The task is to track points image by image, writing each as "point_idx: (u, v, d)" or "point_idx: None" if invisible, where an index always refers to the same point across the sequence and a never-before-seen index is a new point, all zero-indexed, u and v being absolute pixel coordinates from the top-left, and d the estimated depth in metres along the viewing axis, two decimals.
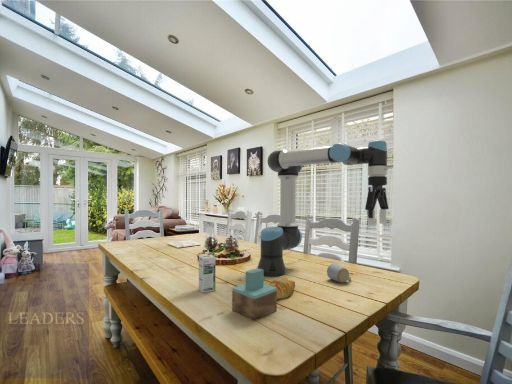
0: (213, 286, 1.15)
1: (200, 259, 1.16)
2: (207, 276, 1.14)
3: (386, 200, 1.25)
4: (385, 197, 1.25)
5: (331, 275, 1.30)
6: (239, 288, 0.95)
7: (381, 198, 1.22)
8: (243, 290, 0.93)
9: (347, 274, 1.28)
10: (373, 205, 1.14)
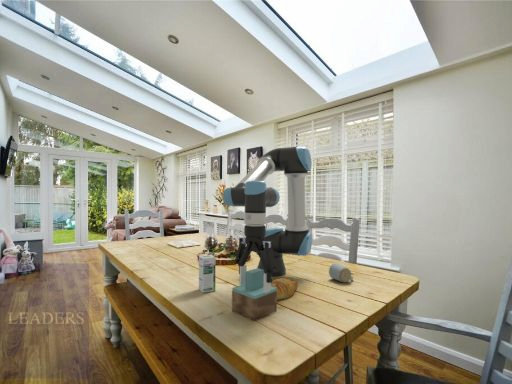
0: (213, 286, 1.15)
1: (200, 259, 1.16)
2: (207, 276, 1.14)
3: (268, 261, 0.90)
4: (266, 255, 0.91)
5: (333, 275, 1.30)
6: (239, 288, 0.95)
7: None
8: (243, 290, 0.93)
9: (349, 274, 1.28)
10: (239, 260, 1.00)
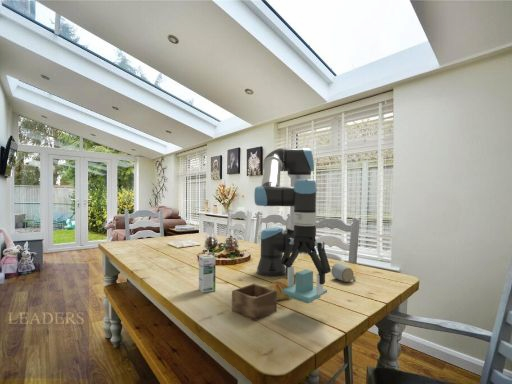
0: (213, 286, 1.15)
1: (200, 259, 1.16)
2: (207, 276, 1.14)
3: (322, 261, 0.88)
4: (319, 256, 0.89)
5: (335, 274, 1.31)
6: (289, 290, 0.93)
7: None
8: (294, 292, 0.91)
9: (351, 273, 1.29)
10: (287, 261, 0.97)
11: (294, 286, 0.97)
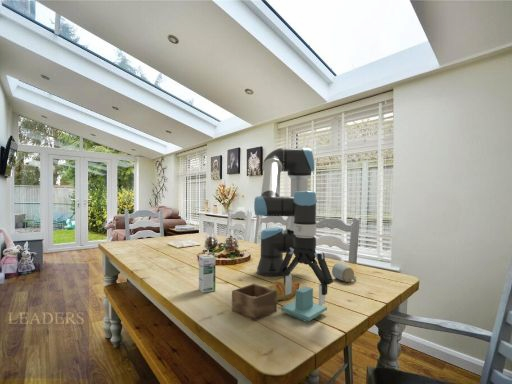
0: (213, 286, 1.15)
1: (200, 259, 1.16)
2: (207, 276, 1.14)
3: (323, 272, 0.87)
4: (320, 267, 0.88)
5: (336, 274, 1.31)
6: (289, 307, 0.93)
7: None
8: (294, 310, 0.91)
9: (352, 273, 1.29)
10: (285, 269, 0.98)
11: (294, 303, 0.97)
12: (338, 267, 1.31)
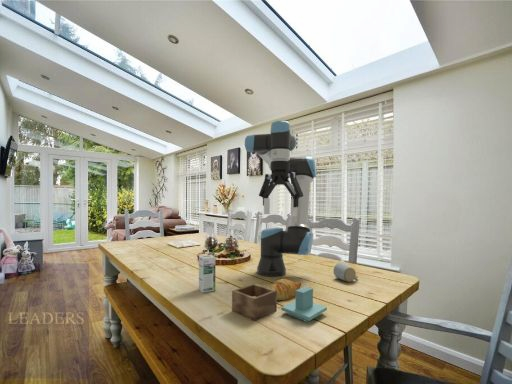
0: (213, 286, 1.15)
1: (200, 259, 1.16)
2: (207, 276, 1.14)
3: (294, 187, 1.02)
4: (292, 184, 1.03)
5: (338, 274, 1.31)
6: (289, 307, 0.93)
7: None
8: (294, 310, 0.91)
9: (354, 273, 1.29)
10: (264, 193, 1.12)
11: (294, 303, 0.97)
12: (340, 267, 1.32)
